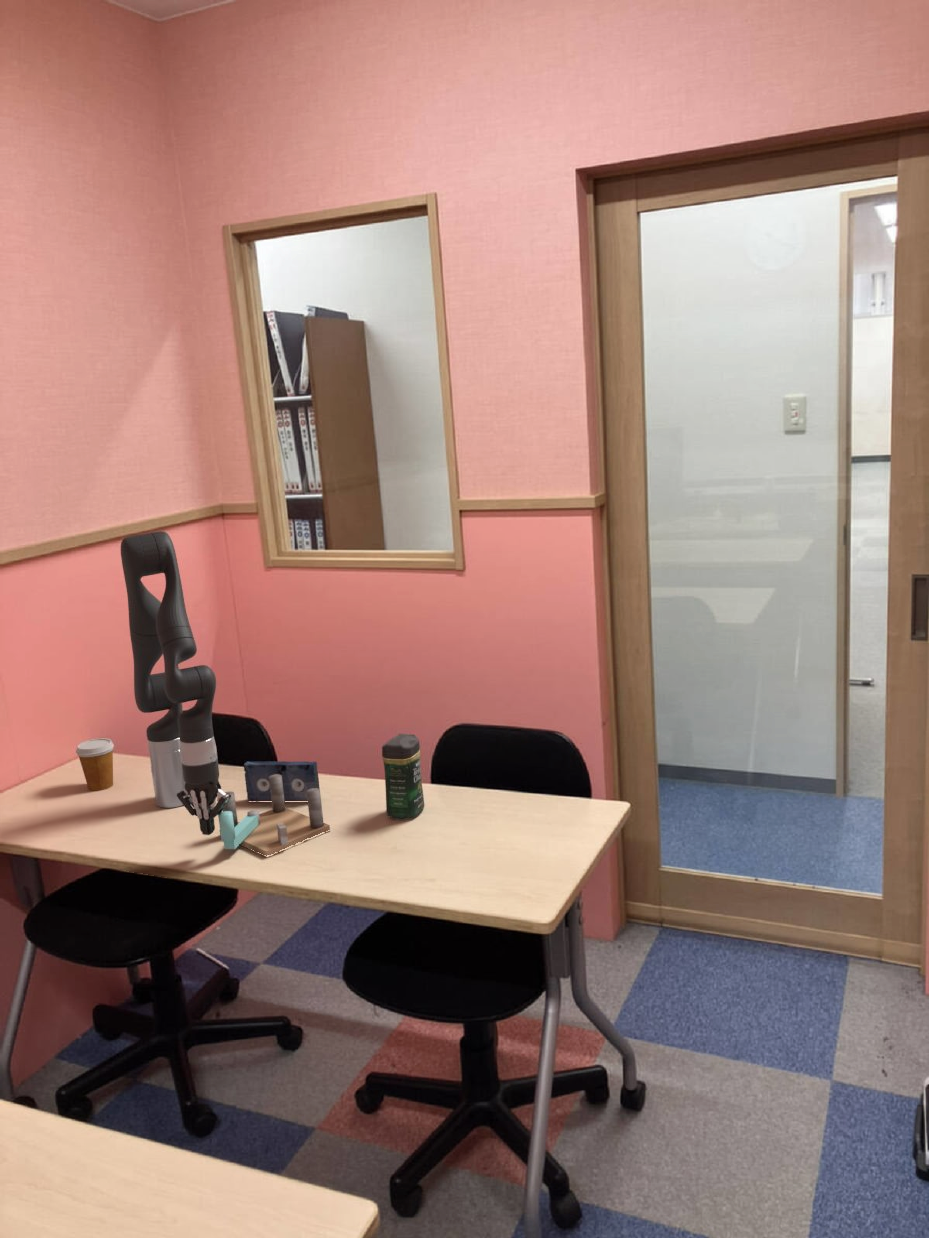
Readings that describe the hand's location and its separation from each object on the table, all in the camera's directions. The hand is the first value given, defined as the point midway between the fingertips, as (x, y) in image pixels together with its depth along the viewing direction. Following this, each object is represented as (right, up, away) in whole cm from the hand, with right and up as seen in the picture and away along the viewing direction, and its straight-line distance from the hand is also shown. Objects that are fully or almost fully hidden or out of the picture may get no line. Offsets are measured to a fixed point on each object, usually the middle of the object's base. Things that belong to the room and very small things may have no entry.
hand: (208, 833), depth 219 cm
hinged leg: (+6, -2, +6) cm, 9 cm away
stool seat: (+13, -2, +10) cm, 16 cm away
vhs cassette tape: (+11, +2, +30) cm, 32 cm away
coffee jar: (+42, +1, +17) cm, 46 cm away
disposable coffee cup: (-41, +2, +49) cm, 64 cm away
